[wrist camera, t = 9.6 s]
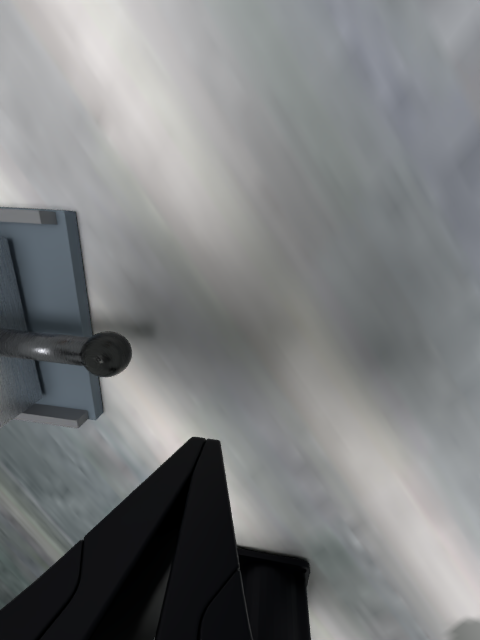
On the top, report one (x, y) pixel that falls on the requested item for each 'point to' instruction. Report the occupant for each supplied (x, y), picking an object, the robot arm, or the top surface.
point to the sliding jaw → (43, 348)
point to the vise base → (53, 308)
